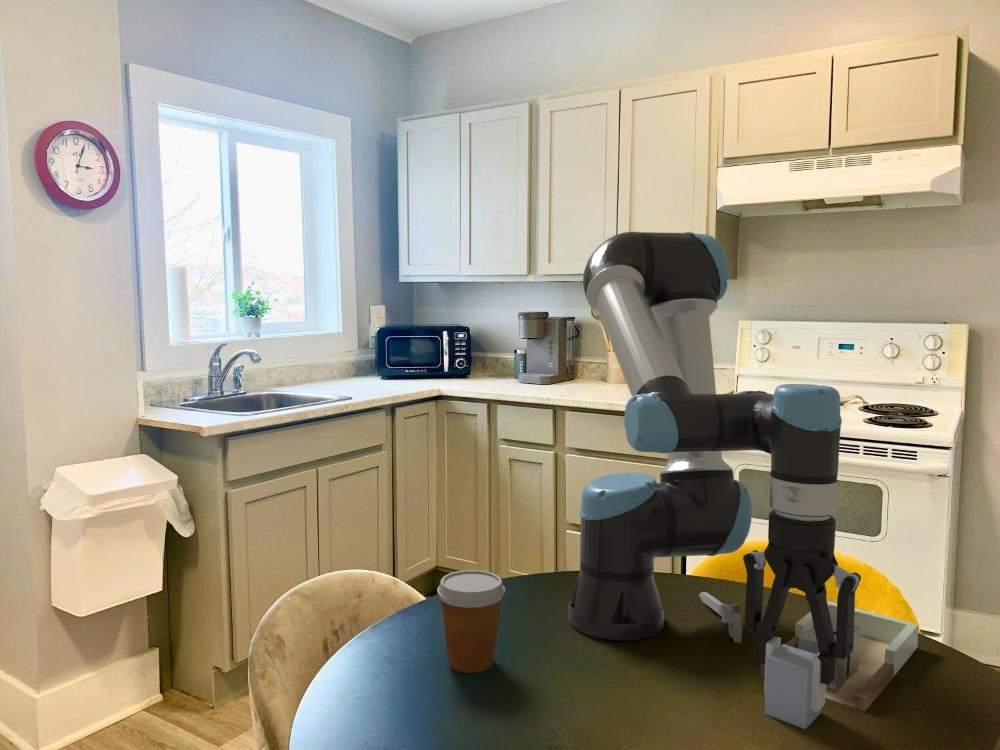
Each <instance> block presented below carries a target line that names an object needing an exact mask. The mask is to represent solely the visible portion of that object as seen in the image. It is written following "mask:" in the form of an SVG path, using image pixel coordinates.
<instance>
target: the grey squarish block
mask: <svg viewBox="0 0 1000 750" xmlns="http://www.w3.org/2000/svg"><path fill="white" fill-rule="evenodd" d="M834 636H835V641H836V635H834ZM798 649H801V650H804V651H807V652H811V653H814V654H817V653H818V652H819V648H818V644H817V639H816V634H815V629H812V628H809V629H808V630H807V631H806V632H805V633H803V634H802V635H801V636H800V637H799V647H798ZM846 675H847V657H846V658H845V659H840V658H836V660H835V678H834V680H833V682H832V683H831V684H830V685H826V690H827V691H830V692H833V693H836V692H837V691H838V690H839V689H840V688H841V687H842V686H843V685H844V684H845V683H846Z"/></svg>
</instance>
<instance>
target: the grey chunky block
mask: <svg viewBox="0 0 1000 750" xmlns="http://www.w3.org/2000/svg"><path fill="white" fill-rule="evenodd" d="M831 622H832V627H833V632H834V635H836V625H837V621H836V620H833V619H831ZM813 629H814V625H813ZM859 646H860V627H858V626H855V625H854V643H853V651H852V652H851V653H850V654H849V655H848V656H847V675H846V679H849V678H850V677H851V676H852V675H853V674H854V673H855V672H856V671H857V670H858V665H859Z"/></svg>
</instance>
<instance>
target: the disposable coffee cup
mask: <svg viewBox="0 0 1000 750" xmlns="http://www.w3.org/2000/svg"><path fill="white" fill-rule="evenodd" d="M436 589H437V590H436V591H437V592H436V593H437V595H438V598H439V599H440V603H441V611H442V618H443V619H442V621H443V628H444V636H445V642H446V651H447V658H448V659H447V661H448V665H449V667H450V668H451V669H453V671H457V672H460V673H464V674H465V673H466V674H475V673H477V674H478V673H482V672H484V671H487V670H490V668H491V667H492V666H493V664H494V658H495V657H494V656H495V651H496V649H495V648H496V643H497V642H496V641H497V636H498V635H497V633H498V628H499V620H500V612H501V605H502V598H503V597H504V595H505V592H506V588H505V586H504V585H503V581H502V578H501V577H500V576H499V575H498V574H495V573H493V572H489V571H485V570H479V569H478V570H477V569H467V570H466V569H465V570H457V571H453V572H450V573H448V574H445V575H444V576H443V577H442V578H441V579H440V582H439V585H438V587H437V588H436Z"/></svg>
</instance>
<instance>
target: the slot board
mask: <svg viewBox="0 0 1000 750" xmlns="http://www.w3.org/2000/svg"><path fill="white" fill-rule="evenodd" d="M783 644H784V645H788V646H791V647H794V648H797V649H798V647H799V637H797V636H795V635H794V636H793V637H792V638H790V639H789V640H788V641H787V642H785V643H783ZM889 644H890V643H887V642H884V641H880V640H877V639H873V638H869V637H866V636H862V635H860V646H859V665H858V670H857V671H856V672H855V673H854V674H853V675H852V676H851V677H850V678H849V679H846V683H845V684H844V685H843V686H842V687H841V688H840V689H839V690H838V691H837V692H836V693H833V692H830V691H827V690H826V698H825V699H828V700H830V701H833V702H837V703H840V704H842V705H845V706H848V707H850V708H853V709H857V710H860V711H863V712H866V711H867V710H868V708H870V706H871V705H872V704H873V702H875V700H876V699H877V698H878V697H879V695H880V694H881V693H882V691H884V689H885V688H886V687H887V686H888V684H889V683H890V682H891V681H892V679H893V678H894V677H895V676H896V674H895V675H894V665H892V664H888V663H885V649H886V648H887V647H888V645H889ZM917 649H918V647H917V648H916V650H917ZM913 654H914V652H913V653H912V655H913ZM909 659H910V657H909V658H908V659H907V661H908V660H909ZM904 665H905V663H904V664H903V666H904ZM900 670H901V668H900V669H899V670H898V672H899V671H900ZM759 675H760V676H761V677H763V678H765V665H764V664H761V663H760V674H759ZM893 676H894V677H893Z"/></svg>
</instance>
